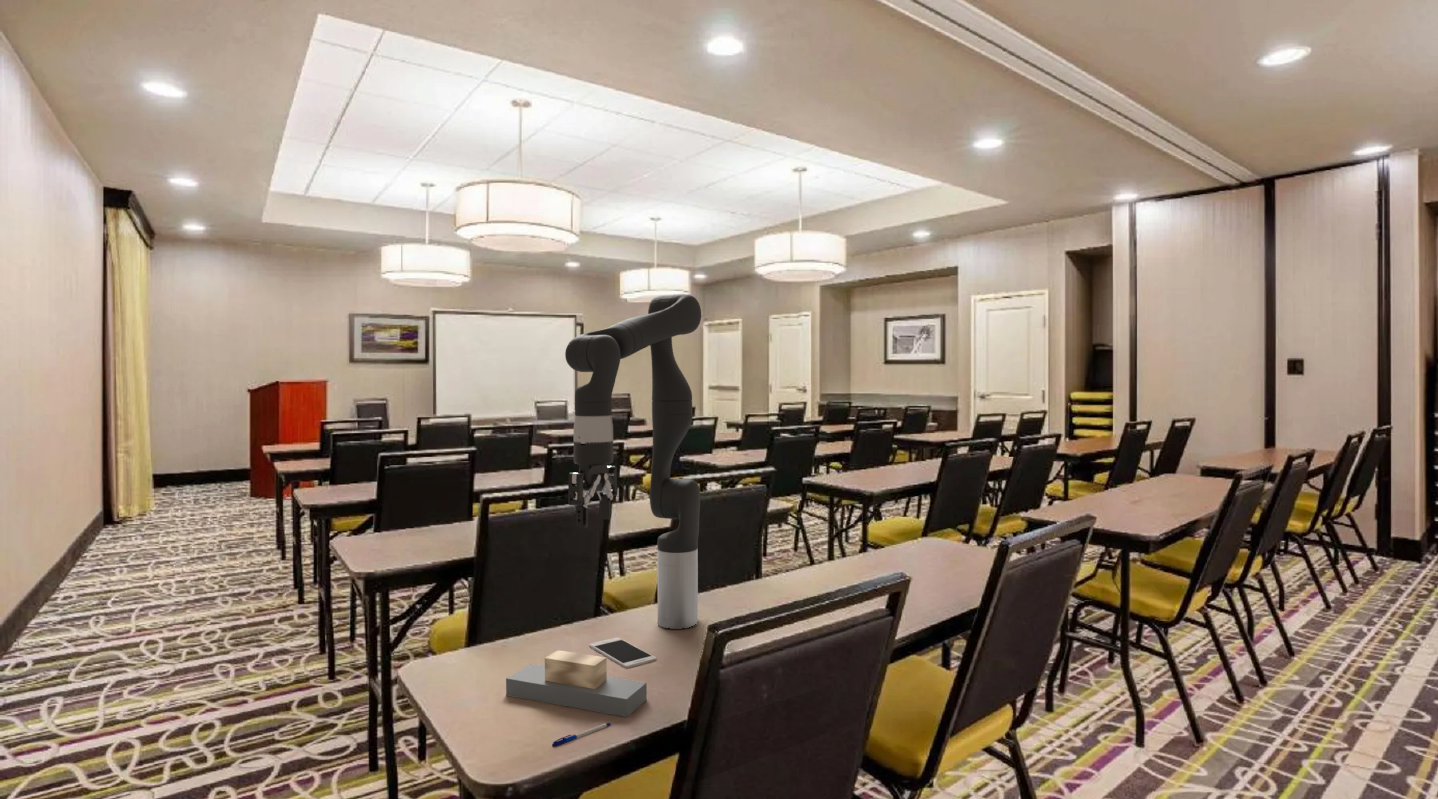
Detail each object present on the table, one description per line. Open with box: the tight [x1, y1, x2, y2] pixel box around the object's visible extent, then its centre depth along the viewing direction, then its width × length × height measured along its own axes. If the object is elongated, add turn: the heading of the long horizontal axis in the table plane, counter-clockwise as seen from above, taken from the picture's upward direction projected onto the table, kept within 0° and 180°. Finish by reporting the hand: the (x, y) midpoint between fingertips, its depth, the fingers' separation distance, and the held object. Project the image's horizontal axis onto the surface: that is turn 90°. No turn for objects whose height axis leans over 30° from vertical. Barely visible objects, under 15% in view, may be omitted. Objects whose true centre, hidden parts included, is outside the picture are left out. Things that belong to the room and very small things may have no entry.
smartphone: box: [588, 636, 657, 669], centre depth 150 cm, size 7×16×1 cm, turn 38°
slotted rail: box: [505, 663, 648, 718], centre depth 128 cm, size 24×7×3 cm, turn 69°
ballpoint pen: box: [551, 722, 612, 748], centre depth 115 cm, size 10×1×1 cm, turn 135°
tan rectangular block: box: [544, 649, 608, 689], centre depth 128 cm, size 10×4×7 cm, turn 69°
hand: (593, 523), depth 141 cm, fingers open, 8 cm apart
